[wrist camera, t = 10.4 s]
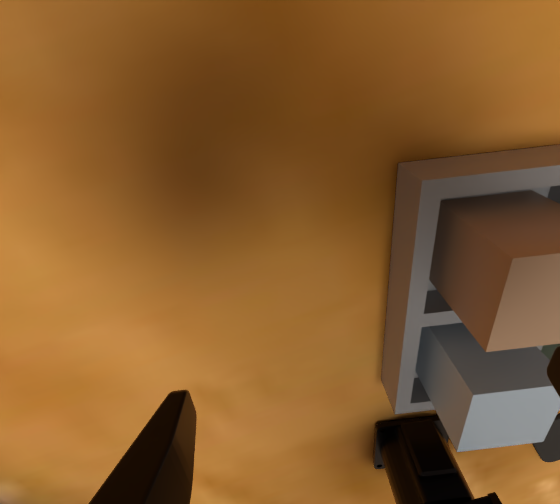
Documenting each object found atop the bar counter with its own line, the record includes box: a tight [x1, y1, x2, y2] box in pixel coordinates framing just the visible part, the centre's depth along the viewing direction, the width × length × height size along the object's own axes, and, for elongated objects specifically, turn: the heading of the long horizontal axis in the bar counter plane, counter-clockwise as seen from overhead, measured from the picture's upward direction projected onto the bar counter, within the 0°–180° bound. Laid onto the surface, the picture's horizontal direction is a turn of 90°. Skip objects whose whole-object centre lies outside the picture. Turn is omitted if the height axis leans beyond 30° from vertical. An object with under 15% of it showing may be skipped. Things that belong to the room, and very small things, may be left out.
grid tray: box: [381, 145, 560, 452], centre depth 19 cm, size 17×17×7 cm
